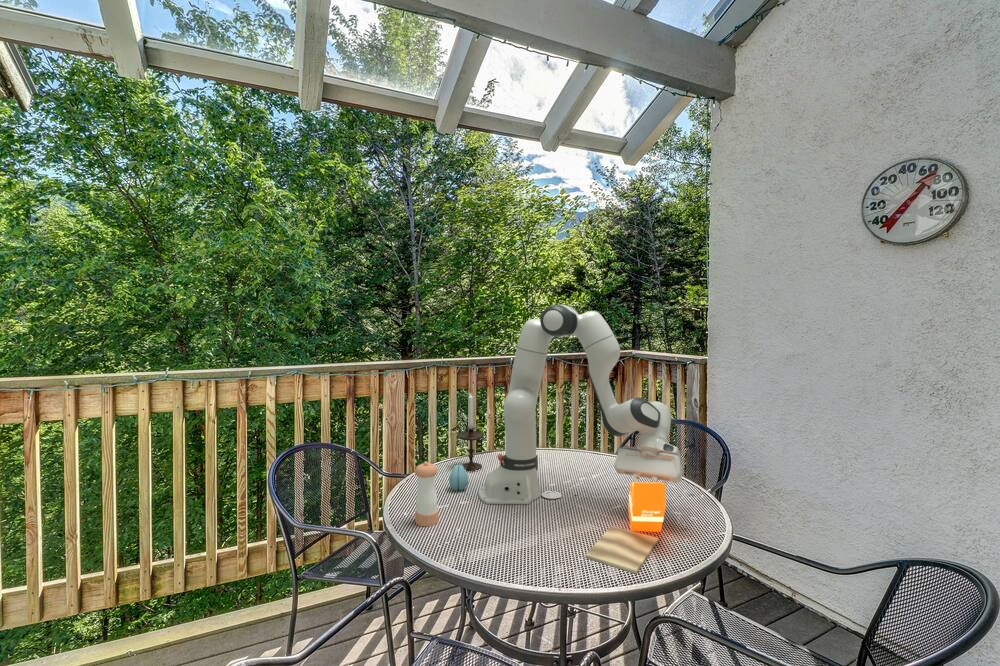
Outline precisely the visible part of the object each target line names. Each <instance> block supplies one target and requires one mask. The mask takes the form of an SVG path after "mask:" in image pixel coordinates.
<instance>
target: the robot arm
mask: <svg viewBox="0 0 1000 666" xmlns="http://www.w3.org/2000/svg"><path fill="white" fill-rule="evenodd" d="M520 331H521V332H520V335H519V338H518V342H517V345H516V350H515V355H514V360H513V365H512V368H511V375H510V376H511V377H510V383H509V386H508V387H509V388H508V391H507V395H506V398H505V399H504V402H503V415H504V420H503V421H504V428H505V429H504V430H505V454H504V455H503V454H502V453H499V454H497V459H498V461H499V462H500V465H499V466H497V467H496V468H494V470H492V471H491V472H490V473H488V474H487V475H486V477H485V481H484V486H480V488H479V489H478V497H480V498H479V499H480V500H481V502H483V503H485V504H487V505H529V504H531V503H532V501H535V500H536V499H538V498H539V497H541V495H542V492H541V490H540V485H539V479H538V468H539V460H538V458H539V457H538V455H537V424H536V423H537V421H536V419H537V418H536V415H537V413H536V410H537V409H536V407H537V403H538V399H539V392H540V388H541V383H542V380H543V374H544V370H545V365H546V361H547V357H548V352H549V348H550V347H549V346H550V344H551V341H552V340H553V338H555V337H557V338H563V337H569V336H575V337H576V338H577V339H578V340H579V342H580V344H581V346H582V348H583V350H584V353H585V355H586V358H587V361H588V362H587V363H588V367H587V368H588V370H587V373H588V376H589V381H590V384H591V386H592V390H593V392H594V395H595V398H596V402H597V403H598V406H599V410H600V413H601V419H602V423H603V426H604V428H605V430H606V431H607V432H608V433H610V434H611V435H612V436H615V437H623V436H625V435H627V434H629V433H632V432H634V431H637V432H638V433H639V436H638V440H637V445H636V446H628V445H623V446H621V447H619V448H618V449H617V456H616V458H615V461H614V465H613V467H614V470H615V471H616V473H617V474H621V475H626V476H633V479H634V482H639V481H638V480H640V478H645V479H650V480H651V479H652V481H651V482H659V481H664V482H671V483H676V484H677V483H678V484H679V483H680V482H681V481H682V480H683V466H682V462H681V458H682V457H681V452H680V450H679V448H678V447H677V446H675V445H673V444H670V443H668V437H669V434H670V431H671V425H672V424H671V423H672V414H671V409H670V408H669V406H667V405H666V404H664V403H662V402H660V401H655V400H654V401H648V400H647V399H645V398H643V397H634V398H631V399H629V400H627V401H624V402H622V403H618V402H617V401H616V398H615V395H614V393H613V392H614V391H613V388H612V387H611V383H610V375H611V373H612V370H613V369H614V367H615V366H616V365H617V363H618V361H619V359H620V357H621V347H620V343H619V342H618V339H617V338H616V336H615V335H614V332H613V331H612V329H611V326H609V323H607V321H606V319H604V317H603V315H601V313H599V312H598V311H596V310H589V311H586V312H583V313H581V314H580V313H579V311H578V310H577V309H576V308H574V307H572V306H570V305H565V304H552V305H550V306H548V307H546V308H545V309H544V310H543V311H542V313H541V315H540V319H539V318H532V319H531V318H530V319H528V320H526V322H525V323H524V324H523V327H522V329H521V330H520Z"/></svg>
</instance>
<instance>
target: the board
mask: <svg viewBox="0 0 1000 666" xmlns="http://www.w3.org/2000/svg"><path fill="white" fill-rule="evenodd" d="M658 542H659V537H656V536H652V535H650V534H649V535H648V534H644V533H640V532H638V531H631V529H626V528H622V527H617V526H615V525H611V526H610V527H609V528H608V529H607V531H605V532H604V534H603V535H602V536H601V537H600V538H599V539H598V540H597V541H596V542H595V543H594V545H593V546H592V547H591V548H590V549H588V551H587V552H586V554H585V558H586V559H589V560H592V561H594V562H598V563H601V564H604V565H608V566H611V567H615V568H617V569H621V570H624V571H627V572H630V573H634V574H636V575H637V574H638V572H639V571H641V568H642V567H643V565H644V564H645V562H646V561H647V559H648V558H649V555H650V554H651V553H652V551H653V550H654V549H655V546H656V545H657V544H658Z"/></svg>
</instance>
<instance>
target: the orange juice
mask: <svg viewBox="0 0 1000 666" xmlns="http://www.w3.org/2000/svg"><path fill="white" fill-rule="evenodd" d="M666 498H667V497H666V483H662V481H660V482H659V481H658V482H652V481H651V482H646V481H645V482H643V481H642V482H639V481H638V482H635V481H633V482H630V485H629V493H628V504H627V509H628V518H629V519H628V520H629V525H630V526H629V527H630V531H634V532H660V533H661V531H662V527H663V522H664V519H665V513H666V509H667V508H666V507H667V505H666Z"/></svg>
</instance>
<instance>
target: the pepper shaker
mask: <svg viewBox="0 0 1000 666" xmlns="http://www.w3.org/2000/svg"><path fill="white" fill-rule="evenodd" d="M414 469H415V470H414V474H415V476H416V477H417V491H416V499H415V506H416V507H415V509H416V510H415V511H414V513H415V515H414V517H415V518H414V520H415V521H414V522H416V523H415V524H416V525H417V524H418V525H420V526H419V527H423V526H427V527H432V526H435V525H437V524H438V523H439V508H438V497H437V491H436V475H437V473H438V467H437V466H436V465H435V463H434V464H433V463H432V462H428V461H424V462H423V463H420V464H418V465H417V466H416V467H415V468H414ZM437 522H438V523H437ZM436 523H437V524H436ZM434 524H435V525H434ZM418 525H417V526H418Z"/></svg>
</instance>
